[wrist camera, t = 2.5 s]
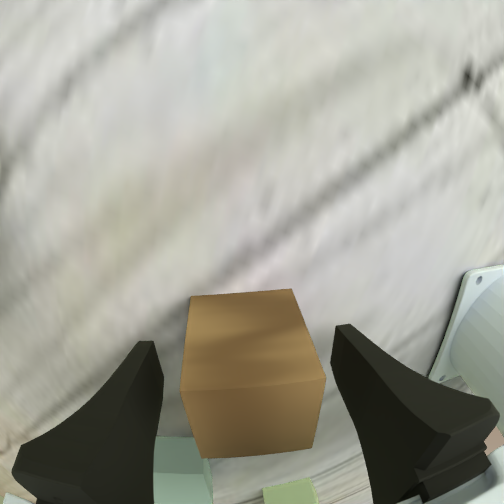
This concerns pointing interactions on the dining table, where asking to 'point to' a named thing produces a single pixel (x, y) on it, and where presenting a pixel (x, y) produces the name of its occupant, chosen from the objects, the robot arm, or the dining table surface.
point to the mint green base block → (180, 472)
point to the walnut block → (250, 375)
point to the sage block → (291, 493)
